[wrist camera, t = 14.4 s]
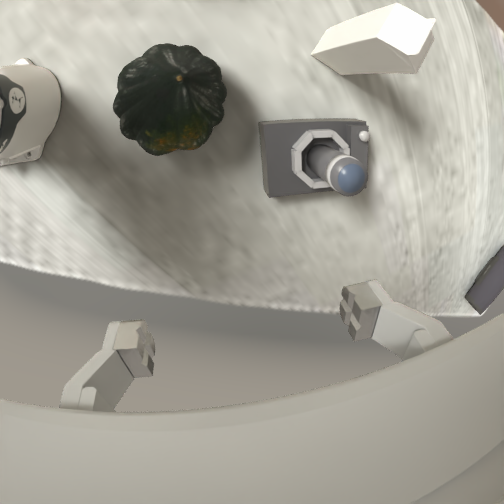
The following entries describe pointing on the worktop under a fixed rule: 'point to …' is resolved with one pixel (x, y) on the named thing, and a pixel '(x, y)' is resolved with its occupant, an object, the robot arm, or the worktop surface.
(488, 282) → the bluetooth speaker
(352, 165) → the lens
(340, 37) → the milk
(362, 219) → the worktop surface
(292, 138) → the stand base
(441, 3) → the worktop surface
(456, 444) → the robot arm
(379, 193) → the worktop surface
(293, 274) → the worktop surface
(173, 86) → the squash
